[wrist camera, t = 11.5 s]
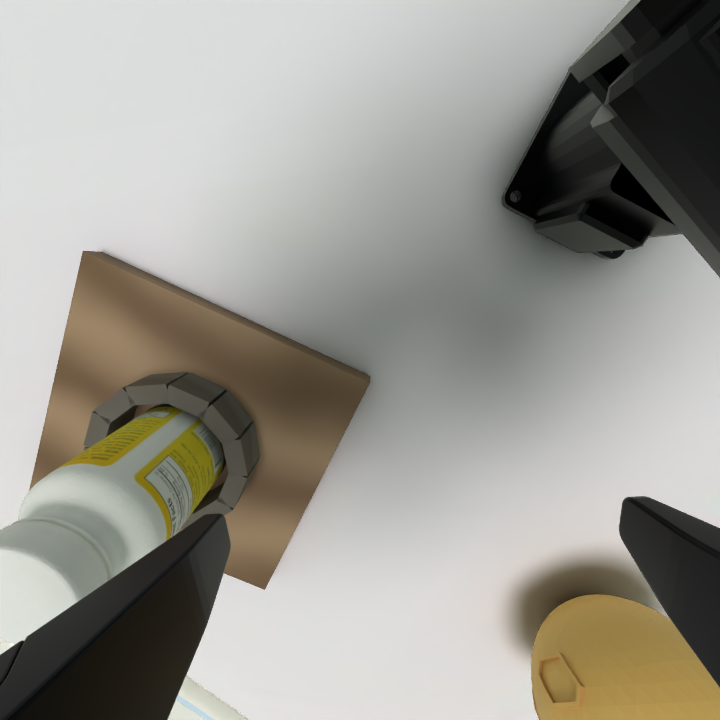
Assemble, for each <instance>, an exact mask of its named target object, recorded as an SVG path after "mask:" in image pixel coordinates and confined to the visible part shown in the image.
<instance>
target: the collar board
mask: <svg viewBox="0 0 720 720" xmlns="http://www.w3.org/2000/svg"><path fill="white" fill-rule="evenodd" d="M369 383H370V376H368V375H366V374H364V373H362V372H360V371H358V370H356V369H353V368H351V367H349V366H347V365H345V364H343V363H340V362H338V361H336V360H334V359H332V358H330V357H327V356H325V355H323V354H321V353H319V352H317V351H314V350H312V349H310V348H308V347H306V346H304V345H302V344H299V343H297V342H295V341H293V340H291V339H289V338H286V337H284V336H282V335H280V334H278V333H276V332H273V331H271V330H269V329H267V328H265V327H263V326H260V325H258V324H256V323H254V322H252V321H250V320H248V319H245V318H243V317H241V316H239V315H237V314H235V313H232V312H230V311H228V310H226V309H224V308H222V307H219V306H217V305H215V304H213V303H211V302H209V301H206V300H204V299H202V298H200V297H198V296H196V295H193V294H191V293H189V292H187V291H185V290H183V289H181V288H178V287H176V286H174V285H172V284H170V283H168V282H165V281H163V280H161V279H159V278H157V277H155V276H152V275H150V274H148V273H146V272H144V271H142V270H139V269H137V268H135V267H133V266H131V265H129V264H127V263H124V262H122V261H120V260H118V259H116V258H114V257H111V256H109V255H107V254H105V253H103V252H93V251H83V253H82V258H81V262H80V267H79V271H78V276H77V280H76V284H75V289H74V293H73V298H72V302H71V307H70V311H69V316H68V320H67V325H66V329H65V333H64V338H63V342H62V347H61V351H60V356H59V360H58V365H57V369H56V374H55V378H54V383H53V387H52V391H51V396H50V400H49V405H48V409H47V414H46V418H45V423H44V427H43V432H42V436H41V440H40V445H39V449H38V454H37V458H36V463H35V467H34V472H33V476H32V481H31V485H30V490H31V488H32V487H33V486H34V485H35V484H36V483H38V482H39V481H40V480H41V479H43V478H44V477H45V476H47V475H48V474H50V473H51V472H53V471H54V470H55V469H57V468H59V467H60V466H62V465H63V464H65V463H67V462H68V461H70V460H71V459H73V458H74V457H76V456H77V455H79V454H81V453H82V452H84V451H85V450H87V449H88V448H90V447H91V446H93V445H95V444H96V443H98V442H99V441H101V440H102V439H104V438H106V437H107V436H109V435H110V434H112V433H113V432H115V431H116V430H118V429H119V428H121V427H123V426H124V425H126V424H127V423H129V422H130V421H132V420H133V419H135V418H136V417H138V416H139V415H141V414H143V413H144V412H146V411H147V410H149V409H151V408H152V407H154V406H156V405H158V404H164V403H167V404H170V405H172V406H174V407H176V408H179V409H181V410H183V411H186V412H188V413H190V414H193V415H195V416H197V417H199V418H200V419H201V420H202V421H203V422H204V423H205V424H206V426H207V427H208V428H209V429H210V430H211V431H212V432H213V434H214V435H215V436H216V437H217V438H218V439H219V441H220V442H221V443H222V445H223V450H224V455H225V459H226V466H225V468H224V469H223V471H222V473H221V474H220V476H219V477H218V478H217V480H216V481H215V482H214V484H213V485H212V487H211V488H210V489H209V491H208V492H207V493H206V495H205V496H204V497H203V499H202V500H201V501H200V503H199V504H198V505H197V507H196V508H195V510H194V511H193V512H192V514H191V515H190V516H189V518H188V519H187V520H186V522H185V523H184V525H183V526H182V527H181V529H180V530H179V531H178V533H179V532H180V531H181V530H183V529H184V528H186V527H187V526H189V525H190V524H192V523H193V522H195V521H196V520H198V519H199V518H200V517H202V516H203V515H205V514H218V513H221V514H223V515H224V516H225V519H226V523H227V527H228V532H229V536H230V541H231V549H230V554H229V557H228V560H227V564H226V567H225V570H224V573H225V574H227V575H230V576H232V577H235V578H237V579H240V580H242V581H245V582H247V583H249V584H252V585H254V586H257V587H259V588H262V589H264V590H265V588H266V586H267V584H268V582H269V580H270V578H271V576H272V574H273V572H274V570H275V569H276V567H277V565H278V563H279V561H280V559H281V557H282V555H283V553H284V551H285V549H286V547H287V545H288V543H289V541H290V539H291V537H292V535H293V533H294V531H295V529H296V527H297V525H298V523H299V521H300V519H301V517H302V515H303V513H304V511H305V509H306V507H307V505H308V503H309V501H310V500H311V498H312V496H313V494H314V492H315V490H316V488H317V486H318V484H319V482H320V480H321V478H322V476H323V474H324V472H325V470H326V468H327V466H328V464H329V462H330V460H331V458H332V456H333V454H334V452H335V450H336V448H337V446H338V444H339V442H340V440H341V438H342V436H343V434H344V433H345V431H346V429H347V427H348V425H349V423H350V421H351V419H352V417H353V415H354V413H355V411H356V409H357V407H358V405H359V403H360V401H361V399H362V397H363V395H364V393H365V391H366V389H367V387H368V385H369ZM30 490H29V491H30Z"/></svg>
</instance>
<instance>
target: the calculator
mask: <svg viewBox="0 0 720 720" xmlns="http://www.w3.org/2000/svg"><path fill="white" fill-rule="evenodd" d="M14 645H15V644H12V643H9V642H7V641H4V640H2V639H0V655H1V654H2V653H3V652H5V651H6V650H8V649H9V648H11V647H12V646H14ZM168 720H248V719H247V718H246V717H245V716H243V715H242V714H241V713H239V712H238V711H237V710H235V709H234V708H232V707H231V706H230V705H228V704H227V703H225V702H224V701H222V700H221V699H220V698H218V697H217V696H215V695H214V694H212V693H211V692H209V691H208V690H206V689H205V688H204V687H202V686H201V685H199V684H198V683H196V682H195V681H193V680H192V679H191V678H189V677H188V676H186V677H185V679H184V681H183V684H182V686H181V689H180V691H179V693H178V696H177V698H176V701H175V703H174V705H173V708H172V710H171V713H170V715H169V717H168Z"/></svg>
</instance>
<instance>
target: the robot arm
mask: <svg viewBox="0 0 720 720" xmlns="http://www.w3.org/2000/svg"><path fill="white" fill-rule="evenodd" d="M568 70H569V72H568V73H567V75H566V77H565V79H564V81H563V83H562V85H561V86H560V88H559V90H558V92H557V94H556V96H555V98H554V100H553V101H552V103H551V105H550V107H549V109H548V111H547V113H546V114H545V116H544V118H543V120H542V122H541V124H540V126H539V127H538V129H537V131H536V133H535V135H534V137H533V139H532V141H531V142H530V144H529V146H528V148H527V150H526V152H525V154H524V155H523V157H522V159H521V161H520V163H519V165H518V167H517V169H516V170H515V172H514V174H513V176H512V178H511V180H510V182H509V183H508V185H507V187H506V189H505V191H504V193H503V196H502V203H503V205H504V206H505V207H506V208H507V209H509V210H511V211H513V212H515V213H517V214H519V215H521V216H523V217H525V218H527V219H529V220H531V221H533V222H534V225H533V226H534V229H535V231H536V232H538V233H540V234H542V235H544V236H546V237H548V238H550V239H552V240H554V241H556V242H558V243H560V244H562V245H563V246H565V247H567V248H569V249H571V250H573V251H575V252H577V253H582V252H592V253H594V254H596V255H598V256H600V257H602V258H605V259H615V258H618V257H620V256H621V255H622V254H623V253H624V251H625V250H629V249H635V248H638V247H641V246H643V245H644V243H645V242H646V240H647V239H648V237H658V236H667V235H677V234H683V235H684V236H685V237H686V238H687V239H688V241H689V242H690V243H691V244H692V245H693V246H694V248H695V249H696V250H697V251H698V252H699V254H700V255H701V256H702V257H703V258H704V259H705V261H706V262H707V263H708V264H709V265H710V266H711V268H712V269H713V270H714V271H715V272H716V274H717V275H718V276H719V277H720V0H630V1H629V3H628V4H627V5H626V6H625V7H624V8H623V9H622V10H621V11H620V13H619V14H618V15H617V16H616V17H615V18H614V19H613V20H612V21H611V23H610V24H609V25H608V26H607V27H606V28H605V29H604V30H603V31H602V33H601V34H600V35H599V36H598V37H597V38H596V39H595V40H594V41H593V43H592V44H591V45H590V46H589V47H588V48H587V49H586V50H585V51H584V52H583V54H582V55H581V56H580V57H579V58H578V59H577V60H576V61H575V62H574V64H573V65H572V66H571V67H570V68H569V69H568ZM512 192H514V193H516V194H517V196H518V199H517V201H516V202H512V201H511V200H510V195H511V193H512ZM610 251H613V252H612V253H611V252H610ZM619 532H620V536H621V539H622V541H623V543H624V544H625V546H626V548H627V549H628V551H629V553H630V554H631V556H632V558H633V559H634V561H635V562H636V564H637V566H638V567H639V569H640V571H641V572H642V574H643V576H644V577H645V579H646V581H647V582H648V584H649V586H650V587H651V589H652V591H653V592H654V594H655V596H656V597H657V599H658V601H659V602H660V604H661V605H662V607H663V608H664V610H665V612H666V613H667V615H668V616H669V618H670V619H671V621H672V622H673V624H674V625H675V626H676V628H677V629H678V631H679V632H680V634H681V635H682V636H683V638H684V639H685V640H686V642H687V643H688V645H689V646H690V647H691V649H692V650H693V652H694V653H695V654H696V656H697V657H698V659H699V660H700V661H701V663H702V664H703V665H704V667H705V668H706V670H707V671H708V672H709V674H710V675H711V677H712V678H713V679H714V681H715V682H716V683H717V685H718V686H719V688H720V528H718V527H716V526H713V525H711V524H709V523H707V522H704V521H702V520H700V519H697V518H695V517H693V516H691V515H688V514H686V513H684V512H681V511H679V510H677V509H674V508H672V507H670V506H668V505H665V504H663V503H661V502H658V501H656V500H654V499H651V498H649V497H645V496H639V497H627V498H625V499H624V500H623V503H622V509H621V517H620V524H619ZM230 549H231V541H230V536H229V532H228V527H227V523H226V519H225V516H224V515H223V514H221V513H218V514H205V515H203V516H202V517H200V518H199V519H198V520H196V521H195V522H193V523H192V524H190V525H189V526H187V527H186V528H184V529H183V530H181V531H180V532H179V533H177V534H176V535H174V536H173V537H171V538H170V539H168V540H167V541H165V542H164V543H163V544H161V545H160V546H158V547H157V548H155V549H154V550H152V551H151V552H149V553H148V554H146V555H145V556H144V557H142V558H141V559H139V560H138V561H136V562H135V563H133V564H132V565H130V566H129V567H127V568H126V569H125V570H123V571H122V572H120V573H119V574H117V575H116V576H114V577H113V578H111V579H110V580H109V581H107V582H106V583H104V584H103V585H101V586H100V587H98V588H97V589H95V590H94V591H92V592H91V593H90V594H88V595H87V596H85V597H84V598H82V599H81V600H79V601H78V602H76V603H75V604H73V605H72V606H71V607H69V608H68V609H66V610H65V611H63V612H62V613H60V614H59V615H57V616H56V617H55V618H53V619H52V620H50V621H49V622H47V623H46V624H44V625H43V626H41V627H40V628H38V629H37V630H36V631H34V632H33V633H31V634H30V635H28V636H27V637H26V639H25V641H23V640H22V641H19V642H18V643H16V644H15V645H14V646H12V647H11V648H9V649H8V650H6V651H5V652H3V653H2V654H1V655H0V720H168V717H169V715H170V713H171V710H172V708H173V705H174V703H175V701H176V698H177V696H178V693H179V691H180V689H181V686H182V684H183V681H184V679H185V677H186V674H187V672H188V669H189V667H190V665H191V662H192V660H193V657H194V655H195V653H196V650H197V648H198V646H199V643H200V641H201V638H202V636H203V633H204V631H205V628H206V626H207V623H208V620H209V617H210V614H211V611H212V608H213V605H214V602H215V598H216V595H217V592H218V589H219V586H220V583H221V579H222V576H223V573H224V570H225V567H226V564H227V560H228V557H229V554H230Z"/></svg>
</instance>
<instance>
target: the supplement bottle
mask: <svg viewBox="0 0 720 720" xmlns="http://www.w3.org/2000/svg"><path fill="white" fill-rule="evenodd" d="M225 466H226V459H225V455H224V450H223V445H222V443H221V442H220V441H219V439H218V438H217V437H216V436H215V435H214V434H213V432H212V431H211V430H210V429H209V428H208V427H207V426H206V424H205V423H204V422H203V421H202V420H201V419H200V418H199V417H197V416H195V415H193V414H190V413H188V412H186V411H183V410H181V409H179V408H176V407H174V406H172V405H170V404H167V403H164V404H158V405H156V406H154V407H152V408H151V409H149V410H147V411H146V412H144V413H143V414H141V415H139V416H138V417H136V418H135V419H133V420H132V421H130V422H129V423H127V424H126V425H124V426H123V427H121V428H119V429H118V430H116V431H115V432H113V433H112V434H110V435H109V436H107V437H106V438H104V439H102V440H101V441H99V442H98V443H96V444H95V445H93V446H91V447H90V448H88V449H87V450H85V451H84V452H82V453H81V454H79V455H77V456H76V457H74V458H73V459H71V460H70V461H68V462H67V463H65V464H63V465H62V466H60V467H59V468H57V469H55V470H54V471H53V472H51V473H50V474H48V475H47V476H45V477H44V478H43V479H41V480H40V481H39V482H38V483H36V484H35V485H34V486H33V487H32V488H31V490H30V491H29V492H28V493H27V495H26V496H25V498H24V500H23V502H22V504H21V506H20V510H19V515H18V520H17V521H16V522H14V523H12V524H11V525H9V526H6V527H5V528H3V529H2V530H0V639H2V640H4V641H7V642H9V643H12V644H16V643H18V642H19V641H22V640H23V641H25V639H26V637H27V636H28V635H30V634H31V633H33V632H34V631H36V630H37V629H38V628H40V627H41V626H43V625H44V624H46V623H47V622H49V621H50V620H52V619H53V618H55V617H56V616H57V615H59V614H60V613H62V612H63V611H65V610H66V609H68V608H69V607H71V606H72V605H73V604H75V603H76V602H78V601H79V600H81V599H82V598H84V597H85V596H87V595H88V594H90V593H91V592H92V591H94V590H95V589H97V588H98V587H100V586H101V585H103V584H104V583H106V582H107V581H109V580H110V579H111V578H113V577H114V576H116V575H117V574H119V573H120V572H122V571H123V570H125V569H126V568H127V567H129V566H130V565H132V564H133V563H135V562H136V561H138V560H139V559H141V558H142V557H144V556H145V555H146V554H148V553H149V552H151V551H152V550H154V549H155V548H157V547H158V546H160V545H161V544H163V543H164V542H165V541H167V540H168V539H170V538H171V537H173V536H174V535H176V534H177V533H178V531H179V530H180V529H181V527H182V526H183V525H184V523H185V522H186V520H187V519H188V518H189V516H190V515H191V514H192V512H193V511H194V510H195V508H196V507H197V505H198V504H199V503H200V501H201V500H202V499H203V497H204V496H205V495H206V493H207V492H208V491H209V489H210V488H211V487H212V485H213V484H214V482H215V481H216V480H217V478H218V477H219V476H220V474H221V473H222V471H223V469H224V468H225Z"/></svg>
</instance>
